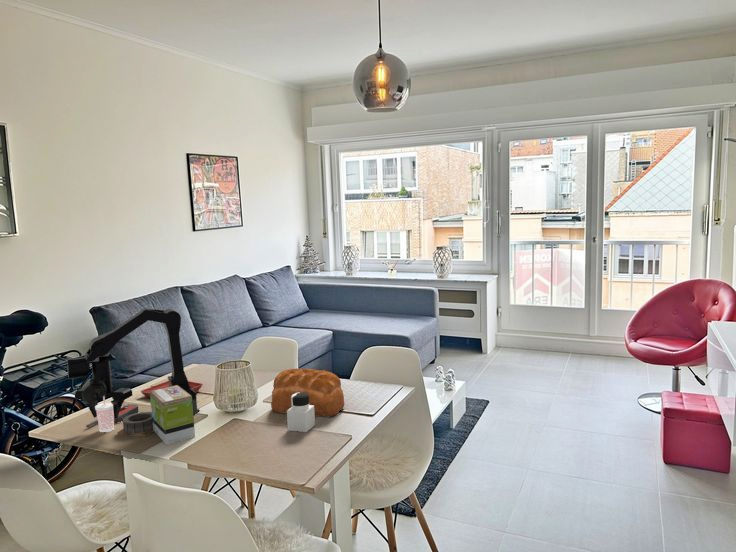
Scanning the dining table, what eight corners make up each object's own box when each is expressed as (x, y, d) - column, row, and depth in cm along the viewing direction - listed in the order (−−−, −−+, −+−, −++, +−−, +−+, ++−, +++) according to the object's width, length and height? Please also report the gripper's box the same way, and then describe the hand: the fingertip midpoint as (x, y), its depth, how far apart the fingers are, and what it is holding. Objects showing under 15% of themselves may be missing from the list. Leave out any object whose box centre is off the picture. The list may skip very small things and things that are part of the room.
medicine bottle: (315, 425, 196) (313, 391, 195) (306, 432, 190) (304, 398, 188) (296, 423, 199) (295, 389, 197) (287, 430, 192) (285, 396, 190)
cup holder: (162, 424, 201) (161, 412, 201) (145, 436, 191) (144, 423, 190) (135, 423, 203) (134, 411, 203) (117, 435, 193) (116, 422, 192)
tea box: (152, 431, 195) (148, 390, 193) (181, 424, 201) (178, 384, 199) (165, 445, 183) (162, 401, 181) (196, 437, 189) (193, 394, 187)
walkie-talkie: (122, 410, 219) (84, 430, 199) (121, 399, 218) (83, 418, 199) (142, 411, 216) (105, 431, 197) (141, 400, 216) (104, 419, 197)
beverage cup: (94, 430, 197) (90, 392, 196) (111, 425, 202) (107, 387, 200) (102, 435, 194) (98, 395, 192) (119, 429, 198) (116, 390, 197)
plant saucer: (170, 404, 223) (169, 396, 223) (139, 398, 232) (139, 390, 232) (204, 391, 239) (204, 383, 238) (174, 385, 248) (174, 378, 247)
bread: (333, 419, 201) (331, 377, 199) (267, 412, 210) (265, 372, 208) (347, 406, 214) (346, 366, 212) (284, 400, 223) (282, 362, 221)
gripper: (61, 380, 189) (65, 425, 191) (111, 381, 186) (115, 427, 188) (83, 370, 200) (87, 413, 202) (131, 372, 197) (135, 415, 199)
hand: (105, 417), depth 197 cm, fingers closed on beverage cup, 8 cm apart
